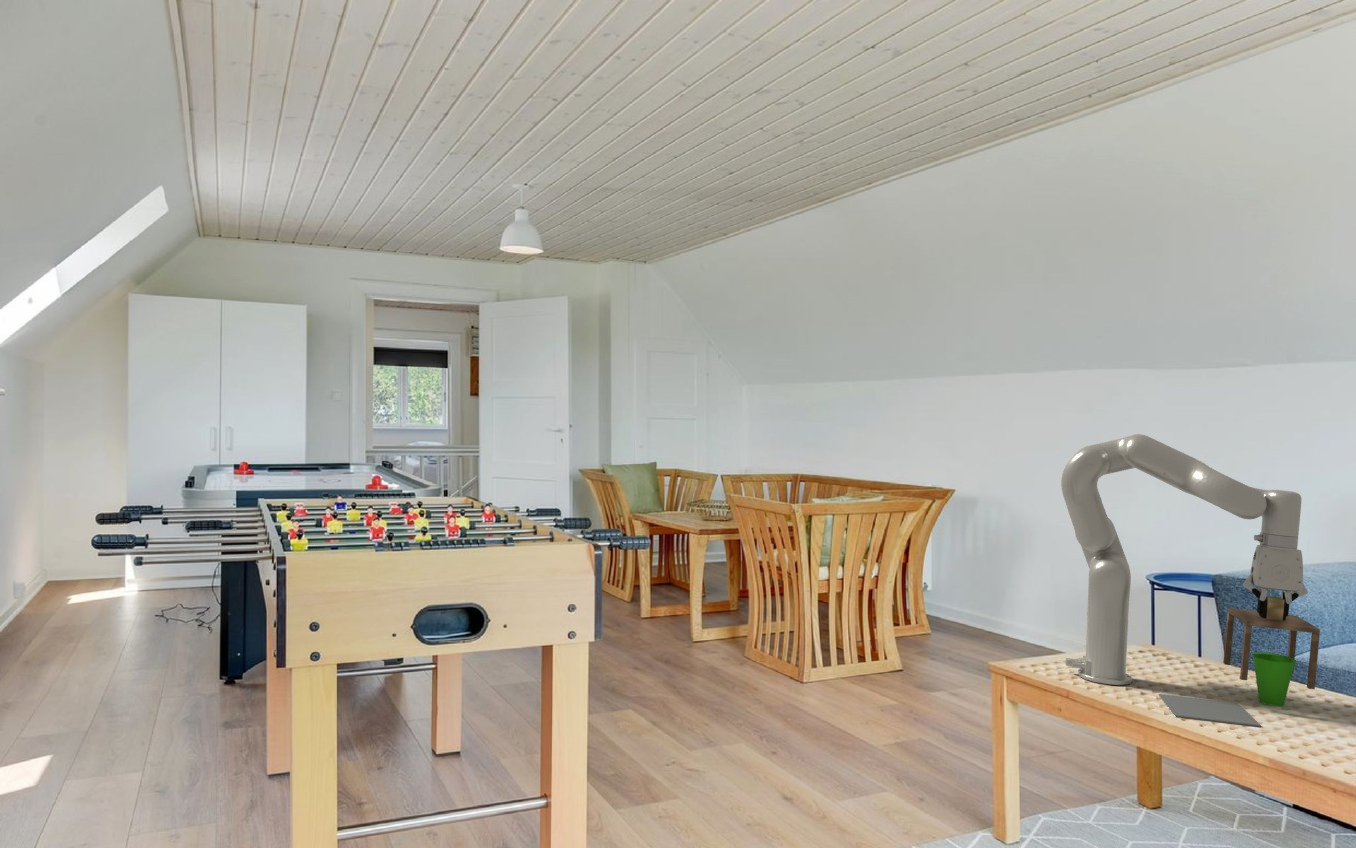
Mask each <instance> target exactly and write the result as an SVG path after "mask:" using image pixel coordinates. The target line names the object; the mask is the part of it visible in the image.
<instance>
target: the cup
mask: <svg viewBox="0 0 1356 848" xmlns="http://www.w3.org/2000/svg"><path fill="white" fill-rule="evenodd" d="M1251 656H1252V658H1253V665H1254V671H1255V672H1254V674H1255V681H1256V689H1257V695H1258V698H1257V699H1258V700H1259V702H1260V703H1262V704H1264V705H1267V706H1268V705H1269V706H1273V707H1274V706H1275V707H1282V706H1284V704H1285V702H1286V699H1287V695H1288V691H1289V687H1290V683H1291V678H1292V674H1293V673H1292V671H1293V667H1294V668H1295V664H1296V663H1297V660H1296V659H1293V658H1291V657H1287V655H1283V654H1279V653H1274V652H1273V653H1272V652H1261V651H1260V652H1253V653H1251ZM1293 672H1294V671H1293Z"/></svg>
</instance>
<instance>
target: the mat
mask: <svg viewBox="0 0 1356 848" xmlns="http://www.w3.org/2000/svg"><path fill="white" fill-rule="evenodd" d="M1158 697H1159V698H1160V699H1161V700H1162V702H1163V703H1164V704H1165V705H1166V707H1167V708H1168V707H1169V708H1168V710H1169V711H1170V710H1171V711H1170V713H1172V715H1173V714H1174V715H1175V716H1176V717H1175V716H1174V715H1173V716H1174V717H1175V718H1179V717H1183V718H1182V719H1189V720H1197V721H1198V720H1199V721H1206V722H1214V723H1223V724H1231V725H1239V726H1247V727H1255V728H1261V727H1262V725H1261V724H1260V723H1259V722H1258V721H1257V719H1255V718H1254V717H1253V716H1252V715H1251V714H1250V713H1249V712H1248V711H1247V710H1246V709H1245V708H1244V707H1243V706H1242V705H1241V704H1240V703H1239V702H1236V701H1229V700H1228V701H1225V700H1216V699H1209V698H1200V697H1199V698H1198V697H1193V696H1192V697H1191V696H1182V695H1174V694H1165V693H1164V694H1163V693H1158Z"/></svg>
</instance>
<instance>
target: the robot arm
mask: <svg viewBox="0 0 1356 848" xmlns="http://www.w3.org/2000/svg"><path fill="white" fill-rule="evenodd" d="M1132 469H1136V470H1139V471H1141V472H1143V473H1145V474H1146V475H1149V476H1151V477H1153V478H1156V479H1158V480H1160V481H1162V482H1163V483H1165V484H1168V485H1169V486H1172V487H1173V488H1176V489H1178V490H1179V491H1181V492H1184V493H1186V494H1188V495H1192V496H1194V497H1196V498H1199V499H1201V500H1203V501H1205V502H1208V503H1210V504H1212V505H1213V506H1216V507H1218V508H1220V509H1222V510H1223V511H1225V512H1228V513H1230V514H1232V515H1234V516H1236V517H1237V518H1240V519H1243V520H1255V519H1259V518H1260V517H1262V518H1261V528H1260V529H1261V531H1260V532H1259V534H1254V535H1253V540H1254V541H1257V542H1258V543H1259V544H1257V545H1256V546H1255V550H1254V553H1253V556H1252V562H1251V567H1250V572H1249V573H1250V574H1249V576H1248V577H1247V578H1246V579H1245V581H1244V582H1243V583H1242V586H1243V587H1244V588H1245V589H1246V590H1248V591H1250V592H1251V593H1252V594H1253V595H1254V596H1255V597H1256V599H1257V610H1256V611H1257V612H1258V613H1259V616H1261V617H1263V618H1266V615H1267V601H1266V596H1268V591H1269V590H1271V591H1273V590H1274V591H1281V598H1282V599H1284V611H1283V620H1286V616H1288V615H1289V610H1290V605H1291V604H1292V603H1293V601H1295V600H1296V599H1299V597H1302V596H1305V595H1307V594H1308V593H1309V592H1308V589H1307V588H1306V586H1305V584H1304V560H1303V552H1302V550H1301V549H1298V545H1299V543H1298V542H1299V534H1300V533H1299V532H1300V522H1301V510H1302V495H1301V494H1300V493H1299V492H1296V491H1289V490H1281V489H1280V490H1279V489H1262V488H1256V487H1252V486H1249V485H1247V484H1244V483H1243V482H1241V481H1238V480H1236V479H1234V478H1232V477H1229V476H1228V475H1226V474H1224V473H1221V472H1219V471H1218V470H1216V469H1214V468H1212V467H1210V466H1209V465H1207V464H1206V463H1204V462H1202V461H1200V460H1199V459H1197V458H1195V457H1193V456H1190V455H1188V454H1186V453H1184V452H1182V451H1180V450H1178V449H1176V448H1174V447H1171V446H1169V445H1167V444H1166V443H1163V442H1161V441H1160V440H1159V441H1158V440H1157V439H1155V438H1152V437H1151V436H1148V435H1145V434H1140V433H1137V434H1132V435H1128V436H1125V437H1121V438H1117V439H1113V440H1108V441H1105V442H1100V443H1096V444H1091V445H1087V446H1084V447H1082V448H1080V449H1079V450H1078V451H1077V452H1076V453H1075V454H1073V456H1072V457H1071V458H1070V459H1069V460H1068V462H1067V463H1066V465H1065V466H1064V469H1063V471H1062V476H1061V479H1060V483H1061V485H1060V486H1061V491H1062V496H1063V498H1064V503H1065V505H1066V507H1067V512H1068V514H1069V518H1070V520H1071V523H1072V526H1073V530H1074V534H1075V538H1076V540H1077V542H1078V544H1079V545H1080V547H1081V550H1082V553H1083V555H1084V557H1085V560H1086V563H1087V565H1088V568H1089V571H1088V595H1087V596H1088V597H1087V613H1086V614H1087V615H1086V616H1087V618H1086V622H1087V623H1086V639H1085V640H1086V643H1085V655H1082V658H1078V659H1074V658H1065V666H1067V667H1071V668H1073V669H1074V668H1075V669H1078V672H1077V674H1078V676H1079V677H1080V678H1082V679H1085V680H1087V681H1090V682H1094V683H1098V684H1102V685H1103V684H1104V685H1112V686H1113V685H1114V686H1126V685H1130V684H1131V683H1133V677H1132V676H1131V675H1130V674H1128V673H1127V671H1126V670H1127V655H1128V654H1127V653H1128V634H1129V633H1128V631H1129V630H1128V628H1129V607H1130V606H1129V605H1130V592H1131V580H1132V579H1131V578H1132V577H1131V575H1132V574H1131V569H1130V565H1129V562H1128V560H1127V557H1126V555H1125V554H1126V553H1125V552H1124V549H1123V547H1122V544H1121V543H1122V542H1121V541H1120V538H1119V534H1118V533H1117V530H1116V527H1115V525H1114V523H1113V521H1112V520H1111V518H1109V516H1108V515H1107V513H1106V512H1107V511H1106V509H1105V507H1104V504H1103V500H1102V497H1101V495H1100V492H1099V489H1098V482H1099V479H1100V478H1101V477H1103V476H1105V475H1108V474H1109V475H1110V474H1114V473H1119V472H1123V471H1128V470H1132ZM1254 586H1256V587H1257V588H1256V587H1254Z"/></svg>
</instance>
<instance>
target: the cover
mask: <svg viewBox="0 0 1356 848" xmlns="http://www.w3.org/2000/svg"><path fill="white" fill-rule="evenodd" d="M1266 601H1267V615H1266V618H1263V617H1261V616H1259V613H1258V612H1257V610H1250V609H1249V610H1248V609H1241V608H1233V607H1232V608H1231V607H1228V608H1227V614H1226V615H1227V618H1226V625H1225V626H1226V628H1225V641H1224V650H1223V662H1222V663H1223V665H1227V666H1231V658H1232V646H1233V635H1234V624H1235V623H1234V622H1235V619H1236V620H1239V622H1242V624H1244V625H1243V626H1244V627H1243V639H1242V651H1241V660H1240V661H1241V662H1240V673H1239V674H1240V676H1239V679H1240V680H1242V681H1248V675H1249V674H1248V673H1249V663H1250V651H1251V643H1252V642H1251V641H1252V640H1251V639H1252V632H1253V631H1252V629H1253V627H1260V628H1261V627H1262V628H1270V629H1278V630H1285V631H1289V633H1288V643H1287V644H1288V645H1287V655H1286V656H1287V657H1291V658H1293V659H1295V658H1296V647H1297V638H1298V637H1297V635H1298V632H1304V633H1310V634H1311V638H1310V648H1309V649H1310V650H1309V659H1308V670H1307V679H1306V680H1307V682H1306V683H1307V684H1306V688H1307V689H1309V690H1315V688H1316V679H1317V669H1318V657H1319V646H1320V645H1319V644H1320V636H1321V629H1320V628H1319V627H1317V626H1316V625H1313V623H1311V622H1308V621H1307V620H1305V619H1303V618H1301V617H1300V616H1298V615H1292V614H1288V616H1286V620H1283V611H1284V599H1282V597H1281V596H1272V595H1266ZM1295 660H1296V659H1295ZM1294 670H1295V666H1294V667H1293V671H1292V674H1294Z"/></svg>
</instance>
